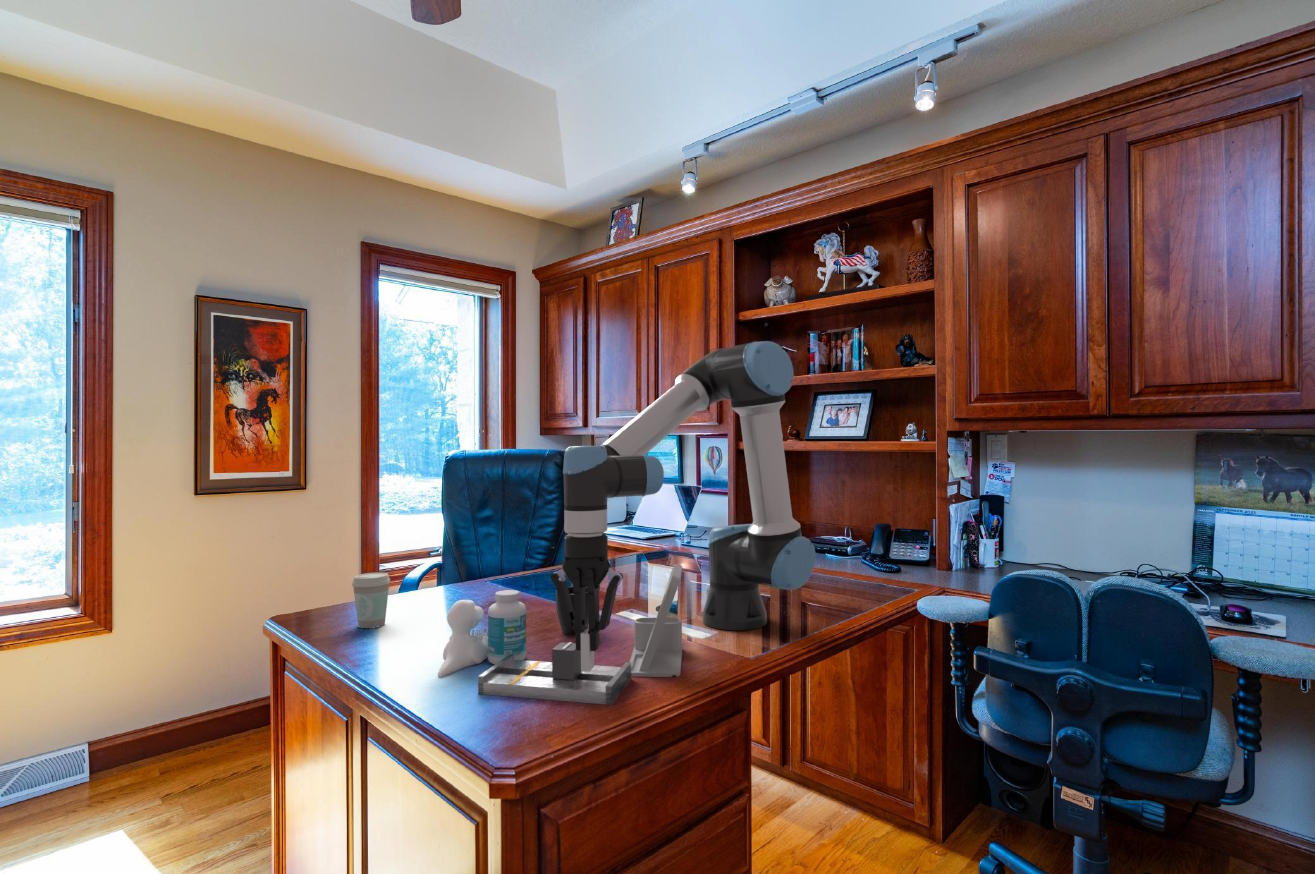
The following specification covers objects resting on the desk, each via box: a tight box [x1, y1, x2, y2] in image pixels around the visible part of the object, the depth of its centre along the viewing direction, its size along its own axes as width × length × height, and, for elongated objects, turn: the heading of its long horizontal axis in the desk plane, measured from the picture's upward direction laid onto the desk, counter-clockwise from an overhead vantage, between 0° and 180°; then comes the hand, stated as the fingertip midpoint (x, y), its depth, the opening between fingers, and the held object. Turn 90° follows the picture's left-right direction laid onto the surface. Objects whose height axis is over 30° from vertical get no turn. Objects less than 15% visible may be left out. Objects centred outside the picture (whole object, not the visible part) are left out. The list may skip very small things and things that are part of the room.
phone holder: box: [629, 563, 683, 678], centre depth 127 cm, size 17×10×18 cm, turn 176°
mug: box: [555, 586, 589, 636], centre depth 149 cm, size 8×12×10 cm
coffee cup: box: [351, 571, 391, 629], centre depth 155 cm, size 8×9×12 cm
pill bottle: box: [487, 589, 527, 665], centre depth 128 cm, size 8×7×14 cm
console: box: [477, 654, 632, 706], centre depth 114 cm, size 24×12×3 cm, turn 77°
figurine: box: [437, 599, 488, 678], centre depth 128 cm, size 8×18×12 cm, turn 166°
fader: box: [551, 641, 582, 680], centre depth 114 cm, size 4×4×6 cm
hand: (587, 668), depth 113 cm, fingers closed
